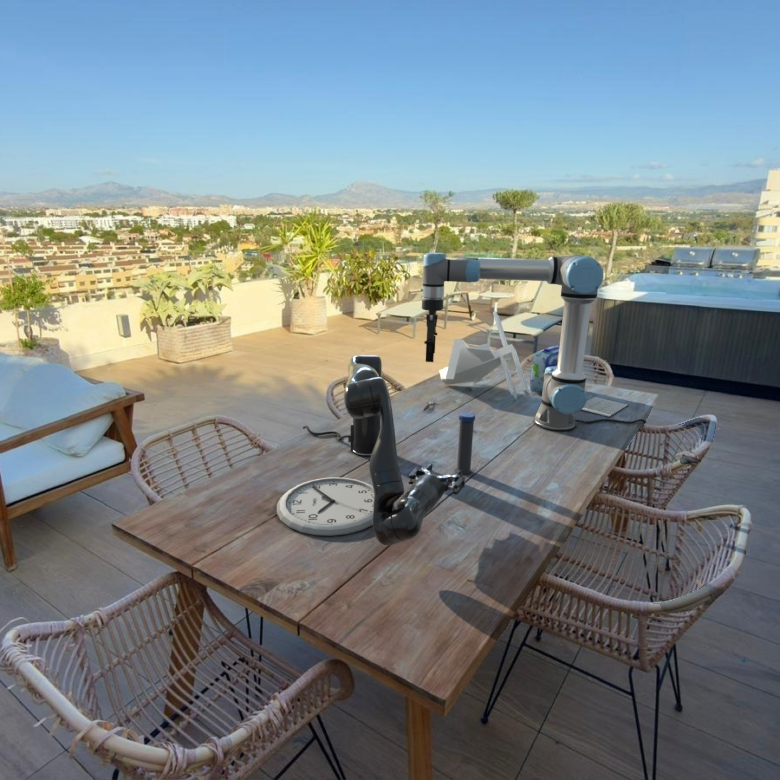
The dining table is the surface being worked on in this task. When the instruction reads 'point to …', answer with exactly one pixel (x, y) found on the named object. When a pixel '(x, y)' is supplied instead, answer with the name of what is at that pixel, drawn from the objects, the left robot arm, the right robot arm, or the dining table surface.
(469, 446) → the bottle
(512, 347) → the white plastic object
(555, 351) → the lunch box
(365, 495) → the wall clock
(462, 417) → the lid
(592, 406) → the grey flat rectangular slab
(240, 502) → the dining table surface
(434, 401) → the fork
